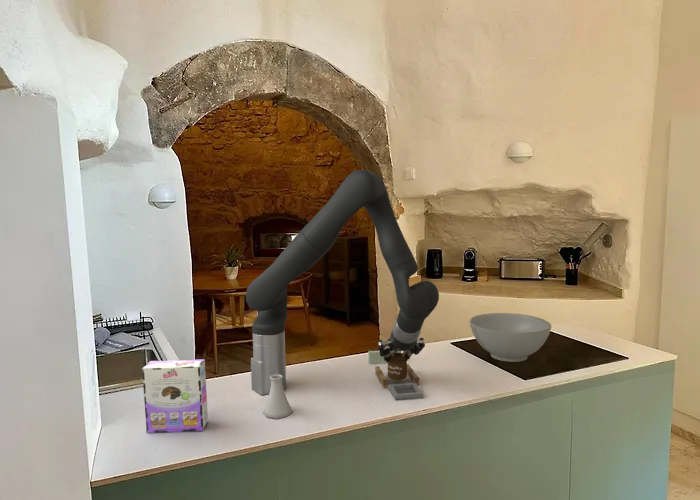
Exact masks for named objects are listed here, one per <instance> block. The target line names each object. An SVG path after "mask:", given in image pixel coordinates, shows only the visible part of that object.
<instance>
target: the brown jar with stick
mask: <svg viewBox="0 0 700 500" xmlns="http://www.w3.org/2000/svg"><path fill="white" fill-rule="evenodd" d="M404 353H405V351H402V352H401V353H398V352H396V353H395V354H394V355H391V356H390V359H389V361H388V363H386V364H387V365H386V368H387V369H386V370H387V372H386V374H387V378H388V379H389V380H392V381H405V380H406V379H407V378H408V376H407V364H408V361H406V355H405V354H404Z"/></svg>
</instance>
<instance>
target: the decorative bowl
mask: <svg viewBox="0 0 700 500" xmlns="http://www.w3.org/2000/svg"><path fill="white" fill-rule="evenodd" d="M469 326H470V329H471V332H472V335H473V337H474V338H475V341H477V343H478V344H479V346H481V347H482V349H484V350H485V351H487V352H488V353H490V356H491V358H493V359H495V360H499V361H502V362H508V363H509V362H510V363H514V362H515V363H516V362H517V363H518V362H524V361H526V360H527V359H528V357H529V356H531V355H533V354H534V353H537V352H538V351H539V350H540V348H542V347H543V345H544V344H545V342H546V341H547V339H548V337H549V335H550V332H551V329H552V324H551V322H549V321H547V320H545V319H543V318H540V317H537V316H533V315H528V314H520V313H512V312H511V313H509V312H506V313H505V312H493V313H492V312H491V313H483V314H478V315H475V316H472V317H471V318H470V319H469Z"/></svg>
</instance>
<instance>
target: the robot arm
mask: <svg viewBox="0 0 700 500" xmlns="http://www.w3.org/2000/svg"><path fill="white" fill-rule="evenodd" d="M362 208H364V209H365V211H366V212H367V213H368V215H369V217H370V219H371V222H372V223H373V225H374V228H375V232H376V236H377V240H378V245H379V248H380V252H381V254H382V257H383V260H384V261H385V264H386V265H387V267H388V270H389V272H390V274H391V277H392V281H393V284H394V291H395V295H396V301H397V305H398V308H399V310H398V314H397V317H396V319H395V320H394V323H393V326H392V329H391V333H390V337H389V338H388V339H387V341H383V340H382V339H379V340H377V343H378V351H380V356H381V357H382V356H383V357H384V361H386V362H388V361H389V359H390V356H391V355H394V354H395V353H396V352H397V351H401V352H404V351H405V353H404V354H405V355H406V362H408V360H410V359H411V356H413V354H414V355H415V356H417V355H419V354H420V353H421V352H422V350H423V349H424V348H425V346H426V344H425V339H424V337H420V335H421V332H422V327H423V325H424V322H425V320H426V319H427V318H428V317H429V316H430V315H431V313H432V312H433V311H434V309H436V307H437V305H438V303H439V300H440V299H439V298H440V293H439V289H438V287H437V286H436V284H435V283H433V282H432V281H429V280H421V281H419V282H417V283H415V284H413V285H410V278H411V277H412V276H414V275H415V274H417V272H418V271H419V265H418V263H417V260H416V258H415V257H414V255H413V252H412V250H411V249H410V246H409V245H408V242H407V241H406V238H405V236H404V235H403V232H402V230H401V228H400V225H399V223H398V221H397V219H396V218H397V217H396V215H395V213H394V210H393V207H392V204H391V200H390V197H389V194H388V191H387V187H386V183H385V181H384V179H383V178H382V176H380V175H379V174H377V173H376V172H373V171H370V170H366V169H357V170H353V171H352V172H351V173H349V174H348V175H347V176H346V178H345V179H344V180H343V181H342V183H341V184H340V185H339V187H338V188H337V189H336V191H335V192H334V193H333V195H332V196H331V197H330V199H329V200H328V201H327V202H326V204H325V205H324V206H323V207H322V208H321V209H320V210H319V211H318V212H317V213H316V214H315V215H314V216H313V217H312V218H311V220H310V221H309V222H308V223H306V225H304V227H303V228H302V229H301V230H300V231H299V232H298V233H297V234H296V235H295V237H294V238H293V239H292V240H291V241H290V243H288V245H287V246H286V247H285V248H284V249H283V250H282V251H281V253H280V254H279V256H277V258H276V259H275V260H274V261H273V263H271V265H270V266H269V267H268V268H267V269H265V270H264V271H263V272H262V273H260V274H259V275H258V276H257V277H256V278H255V279H253V280H252V282H251V283H250V284H249V285H248V286H247V289H246V292H245V301H246V303H247V305H248V307H249V308H250V309H252V310H254V311H257V316H256V318H255V319H254V320H253V322H252V328H251V330H252V350H253V351H252V353H253V356H252V357H251V358H250V372H251V373H250V376H251V379H250V380H251V381H250V382H251V390H252V391H255V392H256V393H257V394H259V395H261V396H263V395H269V393H270V389H271V379H270V376H272V375H276V374H278V375H282V376H283V379H282V386H283V390H284V391H285V390H286V389H287V372H286V371H287V370H286V368H287V367H286V336H285V335H286V333H285V332H286V331H285V329H286V327H285V325H286V322H287V319H288V291H287V286H289V284H291V283H292V282H293V281H294V280H295V279H296V278H297V279H298V277H300V276H301V275H303V274H304V273H306V271H309V270H310V269H311V268H312V267H313V266H315V265H316V264H317V263H319V261H320V260H321V259H322V258H323V257H324V256H325V255H326V254H327V253H328V252H329V251H330V250H331V248H333V246H334V244H335V243H336V241H337V239H338V238H339V237H338V236H339V235H340V233H341V230H342V229H343V228H344V225H345V224H346V223H347V222H348V221H349V219H350V218H351V217H353V216H354V215H355V214H356V213H357V212H358V211H360V209H362ZM419 337H420V338H419Z"/></svg>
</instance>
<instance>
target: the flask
mask: <svg viewBox="0 0 700 500" xmlns="http://www.w3.org/2000/svg"><path fill="white" fill-rule="evenodd" d="M270 379H271V389H270V393H269V394H268V397H267V400H266V401H265V405H264V409H263V410H262V414H263V415H264V416H265V417H266V418H270V419H276V420H277V419H282V418H285V417H288V416H289V415H290V414H292V412H293V410H292V406H291V405H290V402H289V401H288V399H287V395H286V394H285V390H283V386H282V379H283V376H282V375H278V374H276V375H272V376H270Z"/></svg>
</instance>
